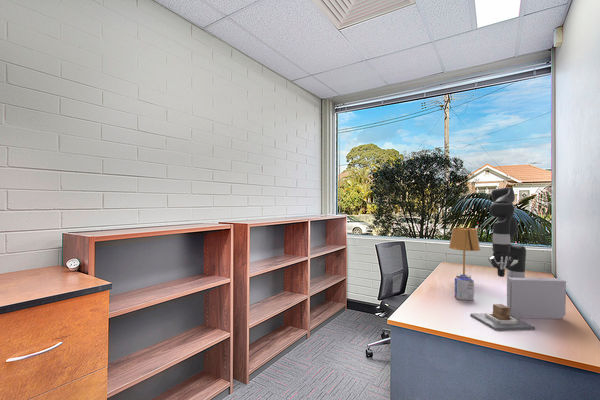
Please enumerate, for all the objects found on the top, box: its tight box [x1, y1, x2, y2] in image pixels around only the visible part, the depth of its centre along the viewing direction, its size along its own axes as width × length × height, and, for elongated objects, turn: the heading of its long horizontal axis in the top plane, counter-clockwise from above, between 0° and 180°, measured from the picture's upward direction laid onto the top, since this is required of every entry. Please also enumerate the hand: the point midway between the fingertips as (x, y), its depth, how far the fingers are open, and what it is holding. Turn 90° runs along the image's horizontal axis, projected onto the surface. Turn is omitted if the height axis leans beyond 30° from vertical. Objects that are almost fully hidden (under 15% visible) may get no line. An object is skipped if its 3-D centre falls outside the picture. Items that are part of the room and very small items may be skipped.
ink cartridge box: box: [454, 275, 475, 301], centre depth 187 cm, size 10×6×14 cm, turn 78°
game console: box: [506, 276, 567, 320], centre depth 159 cm, size 6×27×20 cm, turn 88°
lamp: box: [448, 227, 481, 279], centre depth 224 cm, size 21×21×41 cm
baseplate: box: [469, 312, 536, 331], centre depth 150 cm, size 20×18×3 cm
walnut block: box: [492, 303, 510, 320], centre depth 150 cm, size 5×5×7 cm
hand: (501, 276), depth 152 cm, fingers closed
